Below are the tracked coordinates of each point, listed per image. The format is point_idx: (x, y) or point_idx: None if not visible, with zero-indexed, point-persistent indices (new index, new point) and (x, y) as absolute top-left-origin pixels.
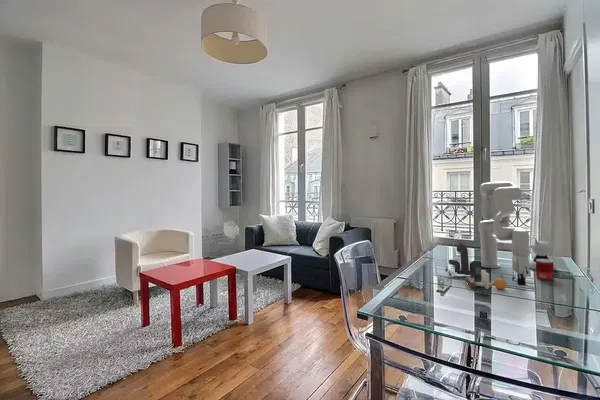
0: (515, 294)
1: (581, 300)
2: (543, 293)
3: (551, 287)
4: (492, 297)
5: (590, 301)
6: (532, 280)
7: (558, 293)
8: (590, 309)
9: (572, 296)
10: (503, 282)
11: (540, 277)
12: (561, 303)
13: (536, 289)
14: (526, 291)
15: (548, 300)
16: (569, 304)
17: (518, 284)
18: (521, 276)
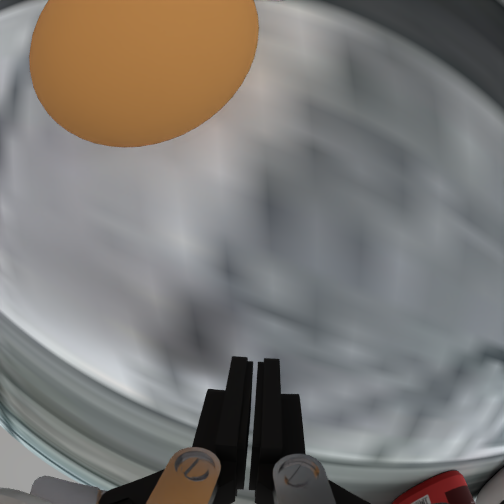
0: (28, 199)
1: (87, 479)
2: (123, 430)
3: None
4: (3, 17)
5: None
6: (428, 458)
7: None
8: (9, 430)
9: None
10: (31, 69)
11: (424, 493)
12: (7, 394)
13: None
14: (131, 350)
15: (11, 369)
16: (14, 413)
17: (241, 360)
18: (135, 494)
